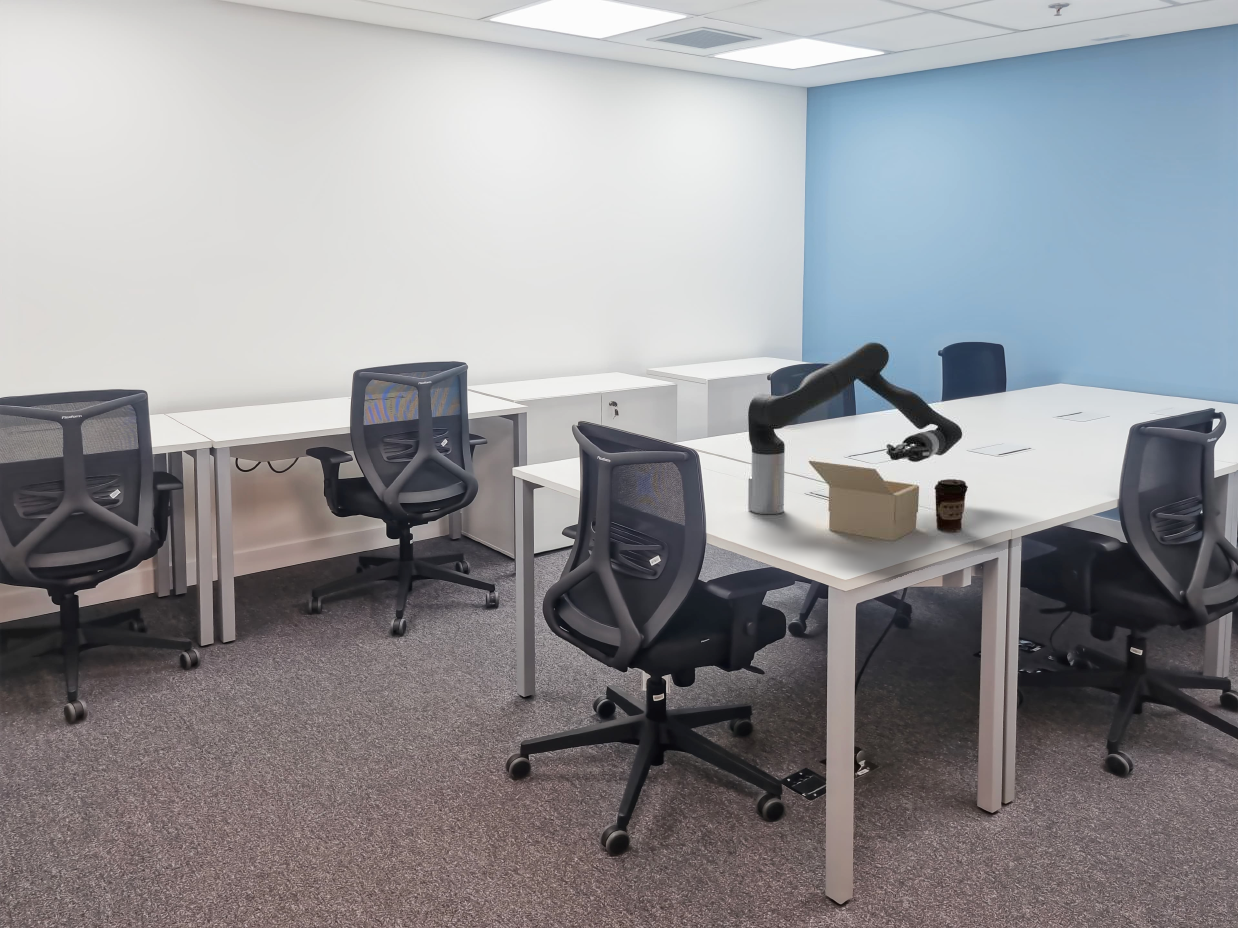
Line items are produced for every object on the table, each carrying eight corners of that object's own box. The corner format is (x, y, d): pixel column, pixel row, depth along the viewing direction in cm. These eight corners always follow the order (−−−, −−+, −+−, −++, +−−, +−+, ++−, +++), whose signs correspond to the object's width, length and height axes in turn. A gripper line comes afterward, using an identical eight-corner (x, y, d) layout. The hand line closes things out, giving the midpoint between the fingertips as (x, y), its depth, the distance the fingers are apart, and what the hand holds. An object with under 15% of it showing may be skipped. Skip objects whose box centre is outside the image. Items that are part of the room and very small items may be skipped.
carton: (827, 529, 267) (828, 485, 264) (852, 518, 277) (853, 476, 275) (894, 541, 255) (896, 495, 252) (918, 529, 265) (919, 485, 263)
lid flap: (830, 484, 264) (829, 486, 264) (809, 460, 254) (808, 462, 254) (894, 493, 253) (893, 495, 252) (875, 468, 243) (874, 470, 242)
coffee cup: (971, 533, 261) (974, 484, 258) (939, 534, 260) (942, 485, 258) (958, 524, 269) (960, 477, 267) (928, 525, 269) (930, 478, 266)
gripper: (898, 431, 287) (871, 440, 274) (943, 435, 279) (917, 445, 266) (898, 456, 289) (870, 467, 276) (942, 462, 280) (916, 472, 267)
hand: (893, 456), depth 271 cm, fingers closed
